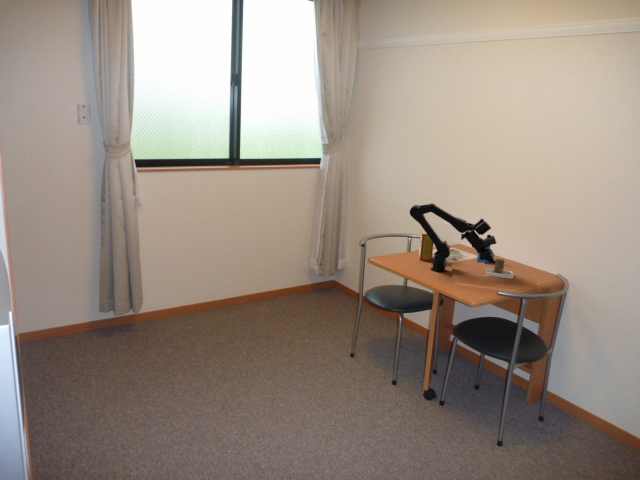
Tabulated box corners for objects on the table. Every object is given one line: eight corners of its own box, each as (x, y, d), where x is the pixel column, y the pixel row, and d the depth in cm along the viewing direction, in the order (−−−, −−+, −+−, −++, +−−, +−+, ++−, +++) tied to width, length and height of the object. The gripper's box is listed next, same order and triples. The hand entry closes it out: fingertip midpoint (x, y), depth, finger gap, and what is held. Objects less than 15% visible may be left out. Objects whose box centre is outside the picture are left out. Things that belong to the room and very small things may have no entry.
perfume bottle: (485, 261, 276) (488, 241, 273) (492, 264, 271) (495, 244, 268) (476, 262, 274) (479, 242, 271) (483, 265, 269) (486, 244, 266)
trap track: (485, 277, 247) (486, 272, 247) (485, 273, 254) (485, 268, 253) (512, 281, 244) (513, 275, 243) (511, 276, 251) (512, 271, 250)
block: (494, 275, 248) (496, 260, 246) (493, 273, 251) (495, 258, 249) (502, 276, 247) (504, 261, 245) (501, 274, 250) (503, 259, 248)
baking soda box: (431, 261, 272) (434, 234, 268) (419, 260, 273) (422, 233, 269) (430, 256, 281) (432, 230, 277) (418, 255, 282) (421, 229, 278)
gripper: (489, 234, 236) (509, 258, 236) (486, 227, 254) (506, 249, 254) (470, 248, 240) (491, 272, 240) (469, 240, 258) (488, 261, 258)
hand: (494, 263), depth 248 cm, fingers closed, pressing on block
